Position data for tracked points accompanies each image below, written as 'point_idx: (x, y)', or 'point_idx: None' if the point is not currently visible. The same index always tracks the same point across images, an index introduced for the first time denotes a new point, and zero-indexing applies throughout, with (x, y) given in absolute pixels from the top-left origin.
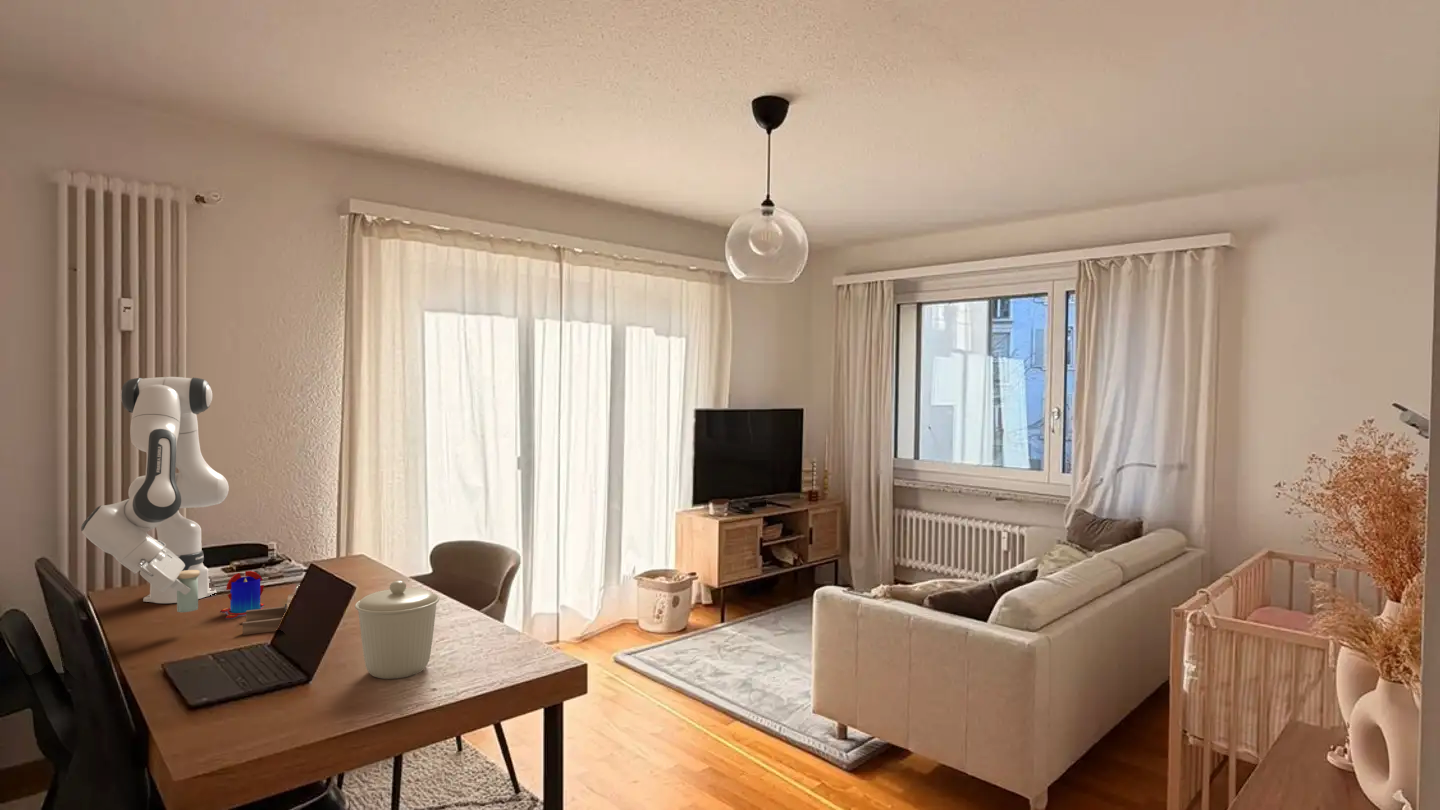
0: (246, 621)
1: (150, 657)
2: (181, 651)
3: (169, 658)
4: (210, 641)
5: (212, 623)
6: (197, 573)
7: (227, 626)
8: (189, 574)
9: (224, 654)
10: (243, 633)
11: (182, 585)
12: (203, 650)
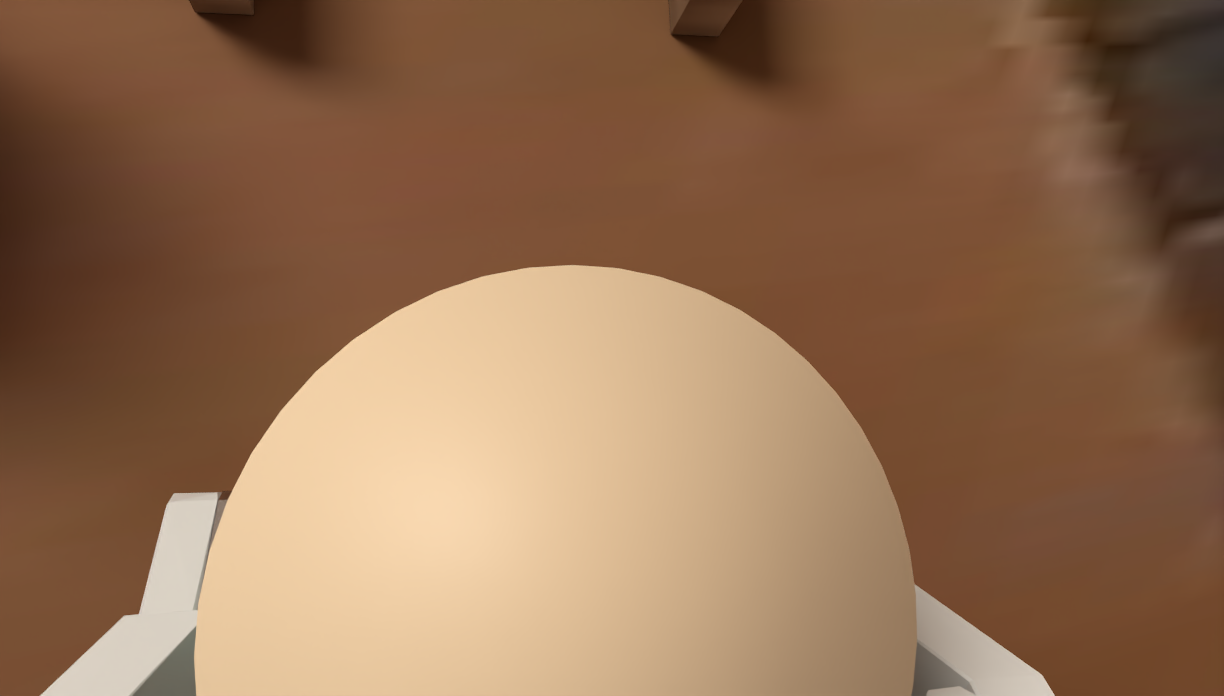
0: (252, 7)
1: (1110, 674)
2: (1027, 462)
3: (1178, 517)
4: (819, 276)
5: (113, 337)
6: (720, 308)
7: (333, 178)
8: (892, 496)
9: (1200, 141)
10: (721, 24)
11: (918, 608)
12: (1056, 298)
